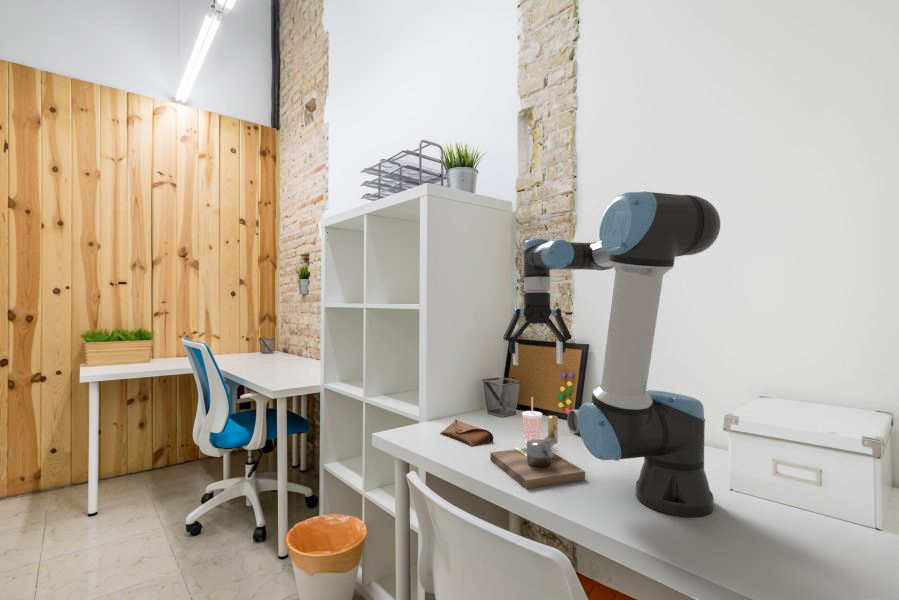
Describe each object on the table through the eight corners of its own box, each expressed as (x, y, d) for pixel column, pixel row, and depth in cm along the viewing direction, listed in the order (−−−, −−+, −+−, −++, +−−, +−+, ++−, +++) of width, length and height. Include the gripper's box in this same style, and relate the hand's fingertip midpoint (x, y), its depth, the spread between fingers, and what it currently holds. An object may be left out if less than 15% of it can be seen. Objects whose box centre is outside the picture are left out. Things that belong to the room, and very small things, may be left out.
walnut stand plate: (585, 479, 109) (585, 470, 109) (526, 488, 104) (526, 478, 104) (540, 452, 129) (540, 444, 129) (489, 459, 123) (489, 450, 123)
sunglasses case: (436, 433, 147) (444, 413, 149) (450, 440, 151) (458, 421, 153) (473, 447, 133) (482, 425, 135) (488, 455, 137) (496, 434, 139)
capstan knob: (546, 468, 110) (546, 431, 110) (523, 464, 113) (523, 427, 113) (564, 450, 123) (564, 417, 123) (543, 447, 126) (543, 414, 126)
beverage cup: (535, 438, 141) (535, 394, 141) (546, 444, 136) (546, 398, 136) (518, 441, 139) (518, 395, 139) (528, 447, 133) (528, 399, 133)
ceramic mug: (601, 435, 145) (600, 411, 145) (577, 436, 143) (577, 412, 143) (583, 426, 155) (583, 404, 156) (562, 428, 154) (561, 405, 154)
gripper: (571, 292, 139) (572, 361, 139) (492, 292, 135) (493, 363, 134) (582, 291, 132) (583, 364, 131) (499, 291, 127) (500, 367, 127)
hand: (537, 364), depth 133 cm, fingers open, 13 cm apart
